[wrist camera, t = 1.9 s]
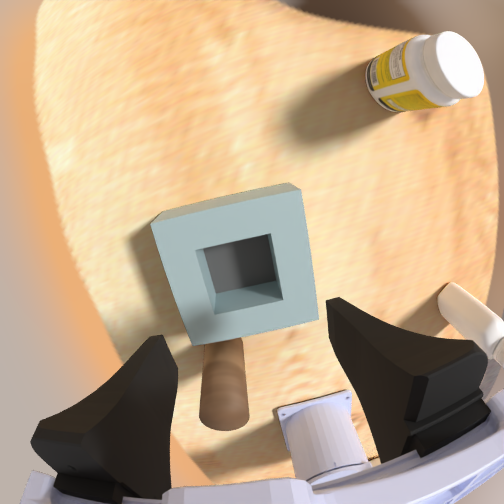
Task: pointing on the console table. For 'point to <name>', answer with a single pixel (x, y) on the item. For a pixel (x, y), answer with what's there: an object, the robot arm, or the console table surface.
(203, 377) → the pin
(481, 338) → the eye dropper bottle
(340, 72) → the console table surface
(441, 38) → the supplement bottle
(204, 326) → the socket block
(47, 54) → the console table surface
